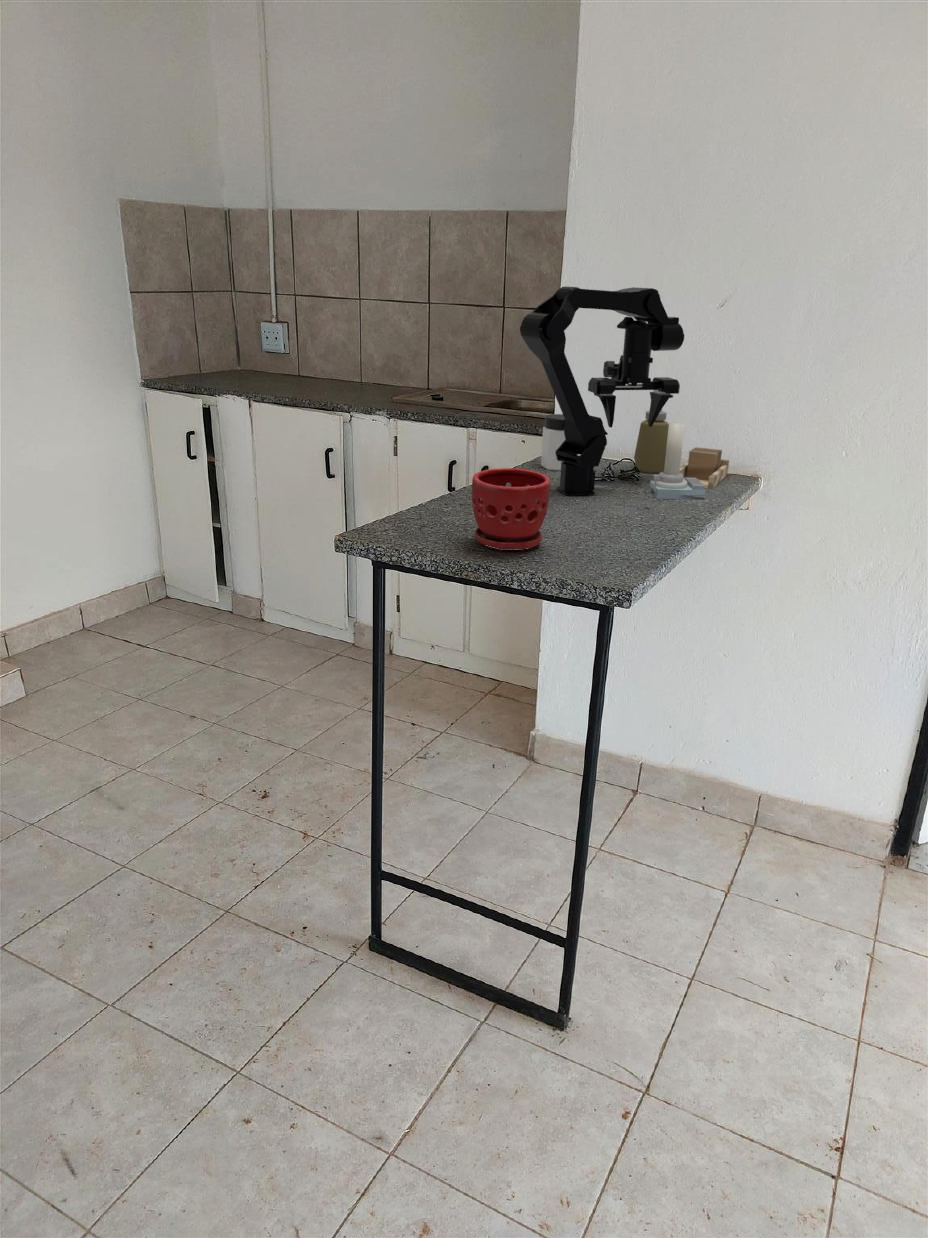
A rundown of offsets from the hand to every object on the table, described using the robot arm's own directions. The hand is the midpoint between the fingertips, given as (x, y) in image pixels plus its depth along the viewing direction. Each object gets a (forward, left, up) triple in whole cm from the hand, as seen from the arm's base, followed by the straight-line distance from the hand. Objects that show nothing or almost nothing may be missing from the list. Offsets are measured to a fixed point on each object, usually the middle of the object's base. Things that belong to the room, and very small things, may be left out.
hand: (630, 426), depth 193 cm
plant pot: (-38, -39, -13) cm, 56 cm away
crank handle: (+6, -9, -10) cm, 15 cm away
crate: (+20, +2, -12) cm, 23 cm away
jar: (-8, +21, -13) cm, 26 cm away
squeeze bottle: (+11, +11, -13) cm, 20 cm away
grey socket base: (+8, -9, -13) cm, 18 cm away
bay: (+18, 0, -13) cm, 22 cm away
